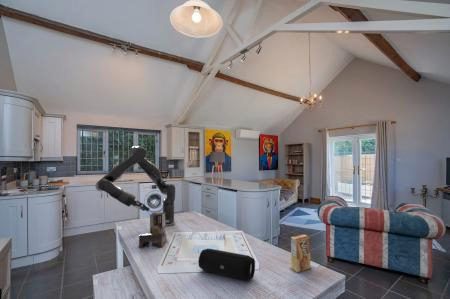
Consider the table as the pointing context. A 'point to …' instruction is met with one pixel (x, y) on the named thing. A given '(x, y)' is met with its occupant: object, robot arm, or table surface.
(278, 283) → the table surface
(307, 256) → the candy box
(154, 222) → the coffee box
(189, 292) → the table surface
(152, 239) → the bench
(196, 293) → the table surface
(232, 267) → the portable speaker
